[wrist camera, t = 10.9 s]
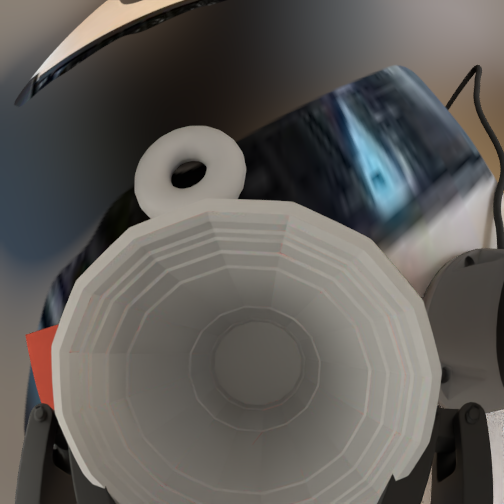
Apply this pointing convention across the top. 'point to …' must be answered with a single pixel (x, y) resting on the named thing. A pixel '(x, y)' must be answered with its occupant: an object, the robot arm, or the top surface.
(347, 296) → the plastic cup
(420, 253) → the top surface
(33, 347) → the red mat
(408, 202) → the top surface
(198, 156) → the donut
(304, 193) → the top surface
